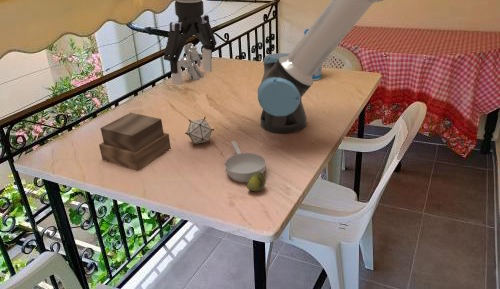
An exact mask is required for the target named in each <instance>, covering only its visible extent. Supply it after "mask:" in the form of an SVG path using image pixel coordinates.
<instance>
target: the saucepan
mask: <svg viewBox="0 0 500 289" xmlns="http://www.w3.org/2000/svg"><path fill="white" fill-rule="evenodd" d="M231 145H232V147H233V149H234V150H235V153H236V154H234V155H231V156H229V157H228V158H227V159H226V160H225V162H224V167H225V171H226V173H227V175H228V176H229V177H230V179H232V180H233V181H235V182H239V183H248V181H249V180H250V178H251V177H252V176H253V175H254V174H255V173H257V172H261V173H262V174H263V175H264V172H265V170H266V164H267V161H266V159H265V157H263V156H262V155H260V154H257V153H253V152H242V151H241V149H240V147H239V145H238V144H237V142H236V141H235V140H234V141H231Z"/></svg>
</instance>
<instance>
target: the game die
mask: <svg viewBox="0 0 500 289" xmlns="http://www.w3.org/2000/svg"><path fill="white" fill-rule="evenodd" d="M206 118H207V117H206V116H204V118H202V119H195V120H191V119H188V122H189V124H188V129H187V131H186V132H185V133H184V134H185V135H187V136H188V137H189V139H190V140H191V141H192V143H193V144H192V145H193V147H196V146H195V145H197V144H201V143H202V144H203V143H208V144H211V142H210V137H211V134H212V131H214V130H215V128H211V126H210V124H209V123H208V122H207V120H206Z"/></svg>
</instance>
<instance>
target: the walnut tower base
mask: <svg viewBox="0 0 500 289" xmlns="http://www.w3.org/2000/svg"><path fill="white" fill-rule="evenodd" d="M100 132H101V136H102V141H103V142H101V143H99V144H98V146H99V151H100V155H101V159H102V161H105V162H109V163H111V164H115V165H118V166H121V167H125V168H129V169H132V170H134V171H135V170H136V171H140V170H141V169H143V168H144V167H146V166H148V165H149V164H150V162H151V163H152V162H153V161H155V160H156V159H158V158H159V157H161V156H163V155H164V154H165V153H167V152H168V151H170V150H171V149H172V148H171V141H170V134H169V133H167V132H164V127H163V121H162V118H158V117H153V116H150V115H144V114H139V113H135V112H129V113H126V114H124V115H123V116H121V117H119V118H117V119H116V120H113V121H112V122H109V123H108V124H106V125H104V126H102V127H100ZM169 149H170V150H169ZM166 151H167V152H166ZM163 153H164V154H163ZM160 155H161V156H160ZM157 157H158V158H157Z"/></svg>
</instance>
